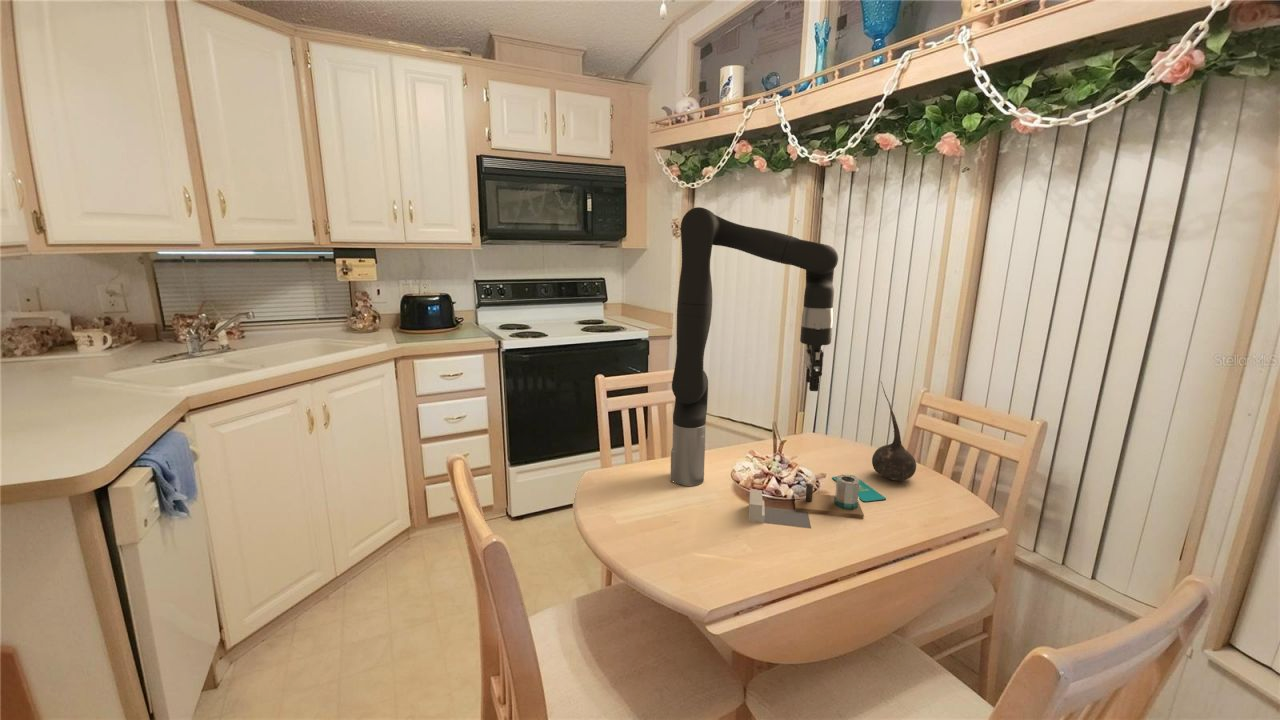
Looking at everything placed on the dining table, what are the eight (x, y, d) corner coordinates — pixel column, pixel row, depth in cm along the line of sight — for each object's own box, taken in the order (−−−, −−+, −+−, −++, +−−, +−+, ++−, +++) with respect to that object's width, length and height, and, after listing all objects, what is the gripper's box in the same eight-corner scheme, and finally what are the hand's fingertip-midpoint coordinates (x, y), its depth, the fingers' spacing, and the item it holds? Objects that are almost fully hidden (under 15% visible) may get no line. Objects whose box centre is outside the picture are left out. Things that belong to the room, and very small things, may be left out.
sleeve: (836, 508, 127) (838, 482, 126) (832, 498, 132) (835, 473, 131) (859, 510, 126) (861, 484, 125) (854, 500, 131) (857, 475, 130)
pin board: (795, 513, 128) (797, 491, 127) (793, 496, 137) (794, 475, 135) (863, 520, 125) (865, 498, 123) (856, 503, 133) (858, 481, 132)
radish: (855, 472, 152) (865, 375, 145) (894, 468, 155) (906, 372, 148) (881, 489, 141) (893, 385, 134) (923, 484, 144) (936, 382, 138)
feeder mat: (748, 522, 123) (749, 504, 122) (749, 507, 131) (750, 489, 130) (811, 530, 120) (812, 510, 119) (807, 513, 128) (809, 495, 127)
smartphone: (863, 501, 133) (830, 476, 148) (863, 504, 133) (830, 479, 148) (887, 498, 135) (853, 474, 149) (887, 501, 135) (852, 477, 149)
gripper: (799, 320, 137) (794, 379, 140) (803, 328, 123) (799, 392, 126) (828, 321, 135) (823, 380, 138) (836, 329, 121) (830, 394, 125)
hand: (811, 386), depth 132 cm, fingers open, 8 cm apart
